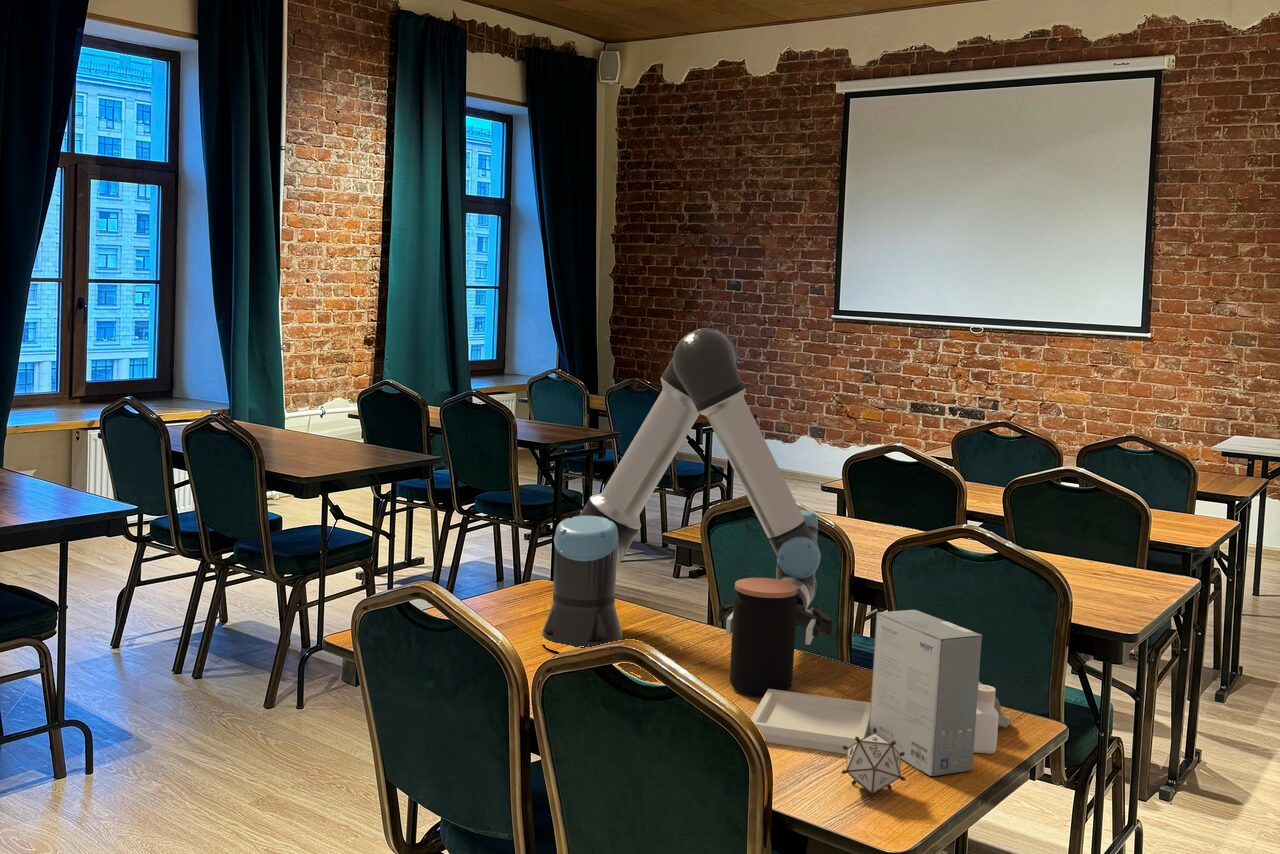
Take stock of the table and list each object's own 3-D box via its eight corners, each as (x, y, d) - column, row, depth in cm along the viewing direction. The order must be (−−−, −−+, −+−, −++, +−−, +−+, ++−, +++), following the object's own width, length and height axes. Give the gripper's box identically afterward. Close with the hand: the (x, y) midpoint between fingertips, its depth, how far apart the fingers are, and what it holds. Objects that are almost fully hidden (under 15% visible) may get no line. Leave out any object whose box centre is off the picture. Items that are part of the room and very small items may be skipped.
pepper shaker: (969, 753, 172) (974, 691, 171) (963, 743, 176) (968, 682, 175) (996, 755, 172) (1001, 693, 171) (990, 745, 176) (995, 684, 175)
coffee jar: (805, 692, 197) (811, 588, 195) (758, 703, 190) (765, 595, 188) (761, 674, 205) (767, 574, 203) (716, 684, 199) (721, 581, 197)
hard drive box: (974, 772, 165) (985, 635, 163) (931, 779, 162) (941, 639, 160) (906, 733, 180) (915, 607, 177) (865, 739, 176) (874, 610, 174)
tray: (747, 739, 174) (748, 723, 174) (767, 703, 190) (768, 688, 190) (861, 756, 169) (863, 739, 169) (872, 718, 186) (873, 703, 185)
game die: (884, 820, 157) (930, 776, 152) (834, 804, 154) (878, 759, 149) (868, 765, 164) (911, 722, 160) (819, 750, 161) (862, 705, 156)
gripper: (853, 630, 214) (840, 662, 194) (720, 614, 221) (694, 644, 200) (855, 590, 213) (843, 618, 193) (722, 575, 220) (697, 601, 199)
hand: (767, 631), depth 197 cm, fingers open, 13 cm apart
